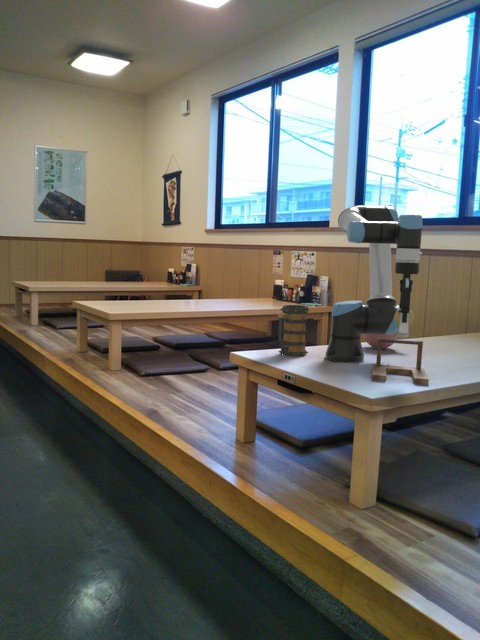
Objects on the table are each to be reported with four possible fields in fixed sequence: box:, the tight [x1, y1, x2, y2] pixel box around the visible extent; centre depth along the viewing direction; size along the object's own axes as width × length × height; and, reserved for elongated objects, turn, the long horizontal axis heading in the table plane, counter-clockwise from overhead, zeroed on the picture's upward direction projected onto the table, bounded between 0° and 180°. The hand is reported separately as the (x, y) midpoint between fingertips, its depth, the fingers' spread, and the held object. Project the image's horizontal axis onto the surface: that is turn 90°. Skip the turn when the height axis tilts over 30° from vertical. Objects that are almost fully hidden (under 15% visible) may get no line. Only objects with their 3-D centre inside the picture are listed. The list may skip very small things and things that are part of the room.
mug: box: [276, 304, 311, 358], centre depth 221 cm, size 13×17×20 cm
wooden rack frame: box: [371, 338, 430, 386], centre depth 188 cm, size 18×18×12 cm
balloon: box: [362, 330, 399, 350], centre depth 241 cm, size 15×20×15 cm
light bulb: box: [394, 309, 415, 339], centre depth 181 cm, size 6×6×10 cm
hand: (402, 330), depth 181 cm, fingers closed on light bulb, 6 cm apart
